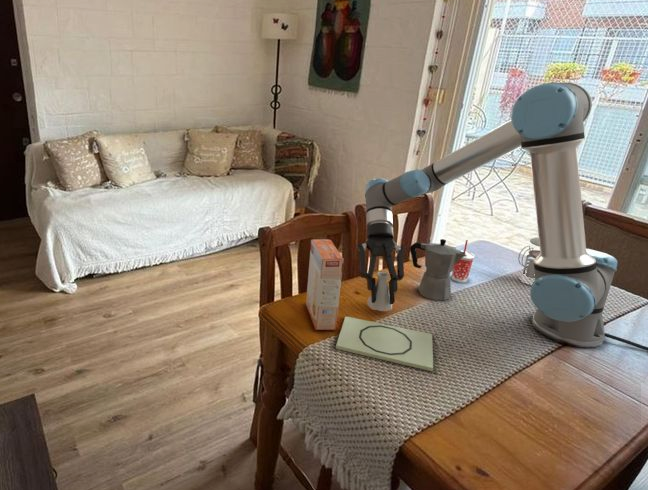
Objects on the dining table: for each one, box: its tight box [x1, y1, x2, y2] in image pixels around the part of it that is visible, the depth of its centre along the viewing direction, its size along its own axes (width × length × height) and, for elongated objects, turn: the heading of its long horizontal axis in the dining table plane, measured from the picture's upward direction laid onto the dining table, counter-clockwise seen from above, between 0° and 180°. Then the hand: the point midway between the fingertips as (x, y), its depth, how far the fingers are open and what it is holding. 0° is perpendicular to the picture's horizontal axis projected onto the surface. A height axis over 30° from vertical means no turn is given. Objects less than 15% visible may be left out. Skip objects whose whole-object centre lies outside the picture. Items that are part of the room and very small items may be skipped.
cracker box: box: [305, 238, 345, 331], centre depth 119 cm, size 14×6×21 cm, turn 0°
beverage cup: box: [451, 239, 475, 284], centre depth 143 cm, size 6×6×14 cm
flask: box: [366, 271, 393, 312], centre depth 125 cm, size 7×7×10 cm
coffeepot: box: [409, 238, 466, 301], centre depth 134 cm, size 15×9×18 cm, turn 59°
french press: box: [517, 236, 540, 278], centre depth 140 cm, size 10×12×25 cm
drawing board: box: [335, 315, 434, 372], centre depth 111 cm, size 22×15×1 cm
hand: (383, 302), depth 122 cm, fingers closed on flask, 4 cm apart
